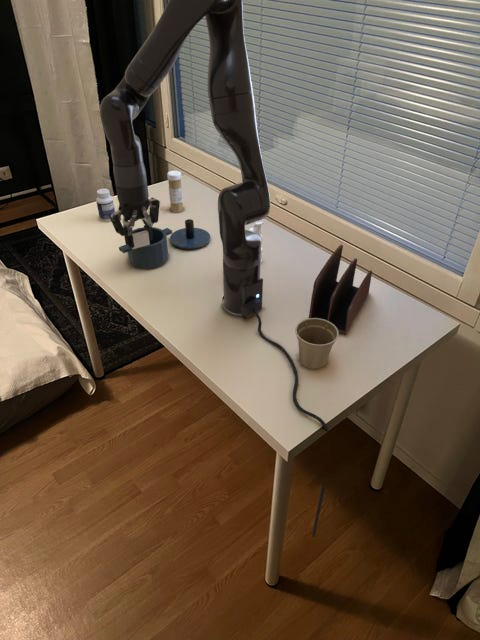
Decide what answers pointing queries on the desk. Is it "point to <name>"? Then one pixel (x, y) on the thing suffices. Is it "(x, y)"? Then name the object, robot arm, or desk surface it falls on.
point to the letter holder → (338, 294)
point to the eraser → (141, 239)
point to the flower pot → (315, 341)
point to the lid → (190, 236)
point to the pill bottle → (104, 204)
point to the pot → (149, 250)
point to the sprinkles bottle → (175, 191)
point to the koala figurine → (257, 230)
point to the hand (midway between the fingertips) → (139, 242)
